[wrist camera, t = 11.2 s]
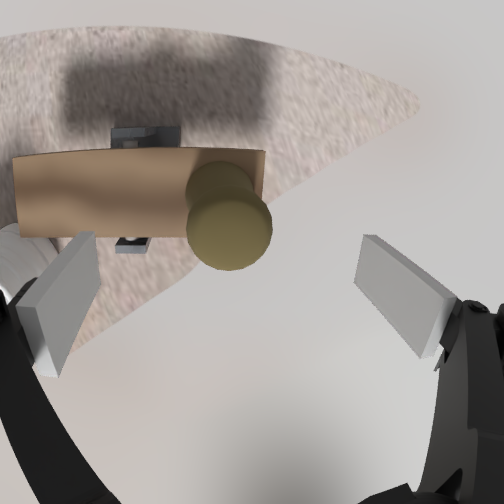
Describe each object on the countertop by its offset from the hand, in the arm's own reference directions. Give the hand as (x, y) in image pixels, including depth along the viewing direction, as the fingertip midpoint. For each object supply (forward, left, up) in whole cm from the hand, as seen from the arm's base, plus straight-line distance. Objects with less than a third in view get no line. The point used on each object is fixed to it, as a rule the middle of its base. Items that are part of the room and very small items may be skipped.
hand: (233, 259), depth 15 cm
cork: (0, 0, -14) cm, 14 cm away
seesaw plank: (0, -8, -16) cm, 17 cm away
